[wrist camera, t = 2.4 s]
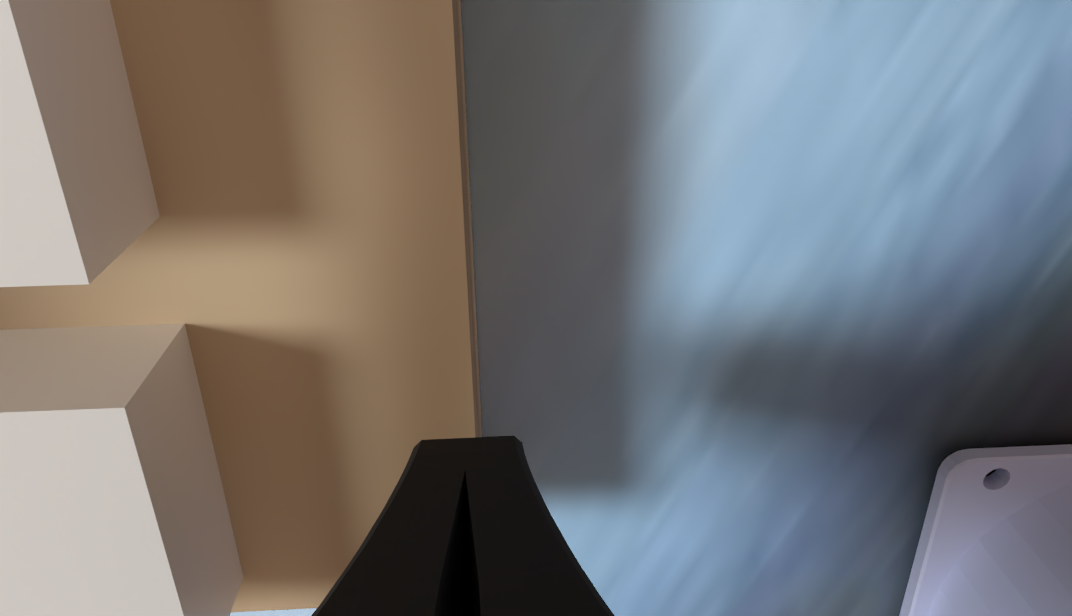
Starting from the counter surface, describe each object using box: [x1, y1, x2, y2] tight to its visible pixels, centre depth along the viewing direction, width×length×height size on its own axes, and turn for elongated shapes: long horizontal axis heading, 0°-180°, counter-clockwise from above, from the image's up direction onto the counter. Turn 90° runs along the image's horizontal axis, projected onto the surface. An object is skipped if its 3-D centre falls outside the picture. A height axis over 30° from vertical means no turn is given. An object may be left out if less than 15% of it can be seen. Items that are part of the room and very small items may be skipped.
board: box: [0, 0, 482, 612], centre depth 12 cm, size 13×12×3 cm
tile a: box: [0, 323, 244, 616], centre depth 11 cm, size 4×4×2 cm
